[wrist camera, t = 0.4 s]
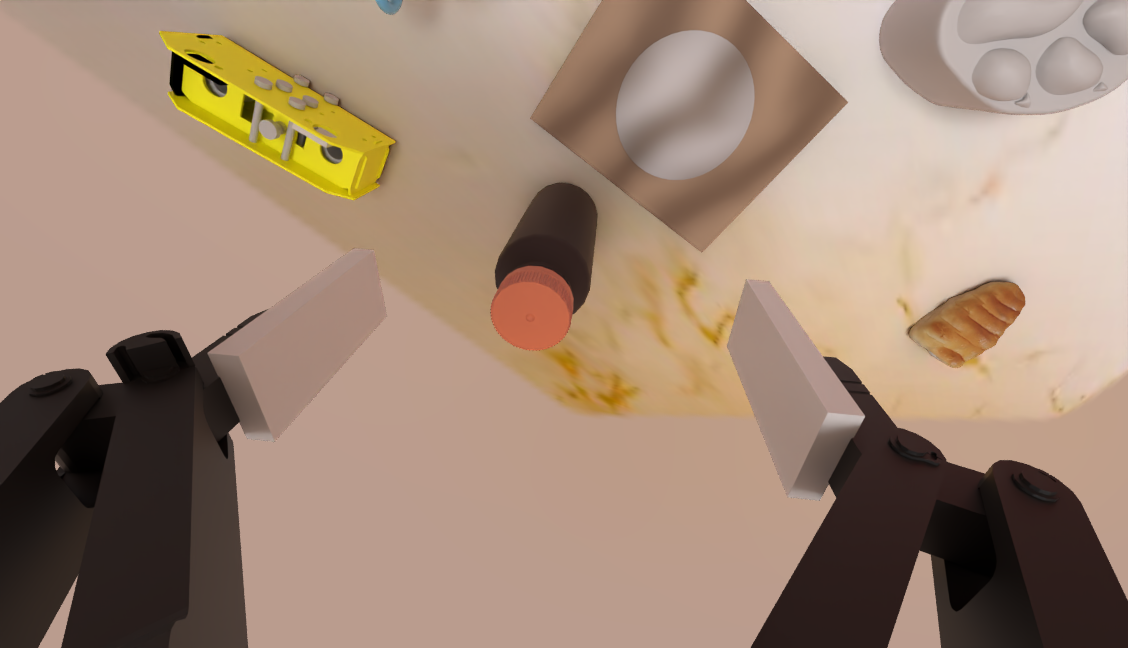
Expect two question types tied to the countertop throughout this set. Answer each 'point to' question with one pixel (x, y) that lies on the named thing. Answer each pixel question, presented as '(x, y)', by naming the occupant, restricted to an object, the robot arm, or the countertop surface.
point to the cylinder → (389, 6)
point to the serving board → (686, 107)
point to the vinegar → (545, 268)
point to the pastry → (969, 322)
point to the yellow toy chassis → (274, 114)
